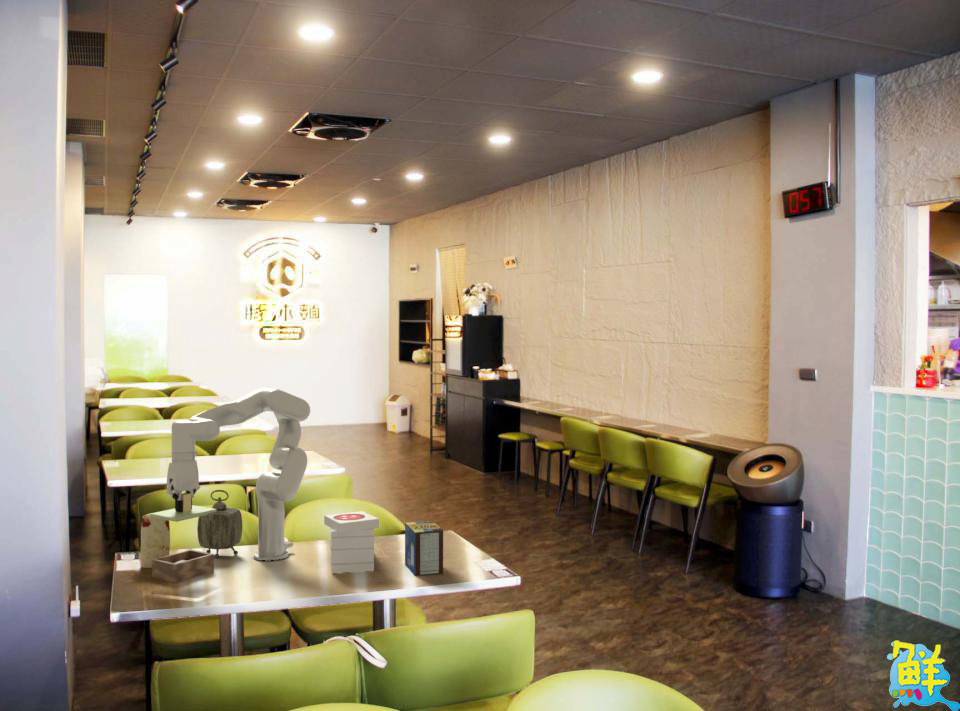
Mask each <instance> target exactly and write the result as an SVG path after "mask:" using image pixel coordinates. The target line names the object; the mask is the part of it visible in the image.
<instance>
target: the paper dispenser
mask: <svg viewBox="0 0 960 711" xmlns="http://www.w3.org/2000/svg"><path fill="white" fill-rule="evenodd" d="M323 518H324V520H323V521H324V523H323V525H325V526H326V527H329V528H330V546H329V547H330V548H329V549H330V574H331V573H337V574H340V573H339V572H360V573H364V572H363V571H374V572H375V529H379V528H380V518H378V517H375V516H374V515H371V514H370V513H367V512H365V511H363V510H362V511H361V510H359V511H351V512H344V513H343V512H342V513H336V514H325V515H324V516H323Z"/></svg>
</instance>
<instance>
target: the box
mask: <svg viewBox="0 0 960 711" xmlns="http://www.w3.org/2000/svg"><path fill="white" fill-rule="evenodd" d="M181 560H185V561H184V562H180V563H176V562H178V561H181ZM213 572H215V554H214V553H207V552H205V551H200V550H196V549H187V550H183V551H180V552H175V553H172V554H169V555H167V556H164V557H160V558H156V559H152V568H151V578H153V579H157V580H161V581H165V582H169V583H174V584H177V583H180V582H184V581H188V580H191V579H193V578H197V577H200V576H204V575H207V574H210V573H213Z"/></svg>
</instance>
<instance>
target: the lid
mask: <svg viewBox="0 0 960 711" xmlns="http://www.w3.org/2000/svg"><path fill="white" fill-rule="evenodd" d="M177 495H178V494H177ZM181 500H183V512H177V511H175V507H174V508H170V509H165V510H161V511H156V512H150V513H151V514H150V516H152V517H158V518H159V519H164V520H169V522H170V521H171V522H176V523H177V522H182V521H185V520H189V519H194V518H199V517H200V516H204V515H207V513H212V512H216V509H213V508H212V507H206V506H199V505H193V504H192V510H191V494H189V493H185V492H182V498H181Z"/></svg>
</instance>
